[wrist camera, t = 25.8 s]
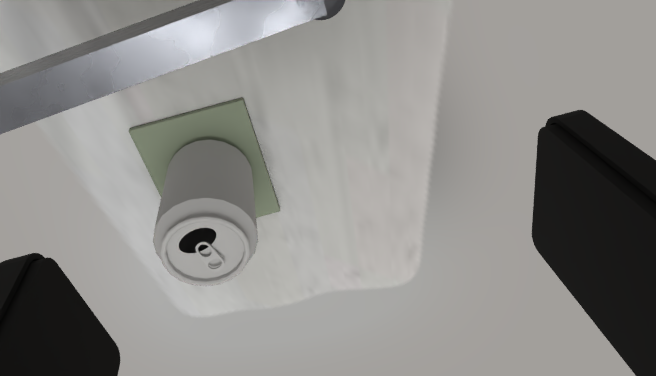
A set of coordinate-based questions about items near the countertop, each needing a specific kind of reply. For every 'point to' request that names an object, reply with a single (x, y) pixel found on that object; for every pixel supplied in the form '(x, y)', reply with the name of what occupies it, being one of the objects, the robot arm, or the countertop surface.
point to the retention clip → (145, 53)
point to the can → (206, 214)
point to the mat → (206, 124)
